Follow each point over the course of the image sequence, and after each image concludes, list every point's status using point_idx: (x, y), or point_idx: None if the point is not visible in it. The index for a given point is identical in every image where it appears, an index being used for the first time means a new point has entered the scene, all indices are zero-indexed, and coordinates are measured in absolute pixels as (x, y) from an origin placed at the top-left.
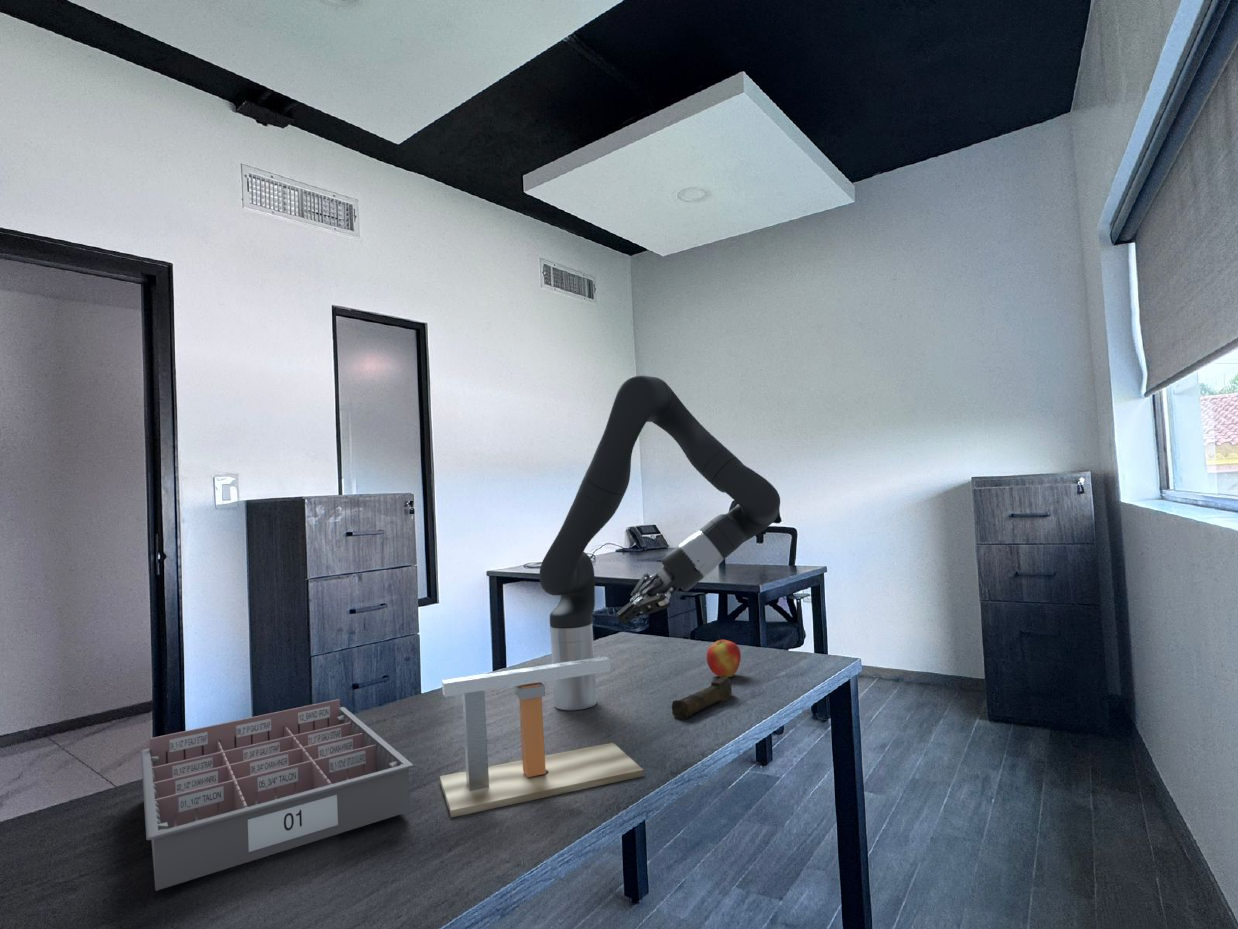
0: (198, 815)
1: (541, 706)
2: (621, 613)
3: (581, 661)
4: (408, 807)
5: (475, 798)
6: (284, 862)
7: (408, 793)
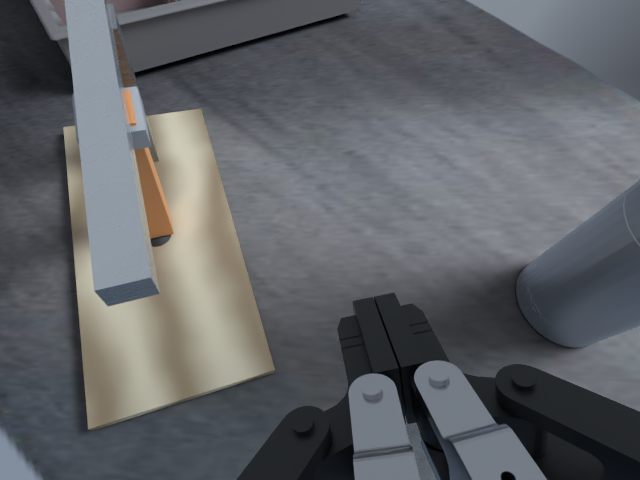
0: None
1: None
2: (357, 316)
3: (112, 201)
4: None
5: None
6: (34, 12)
7: None
